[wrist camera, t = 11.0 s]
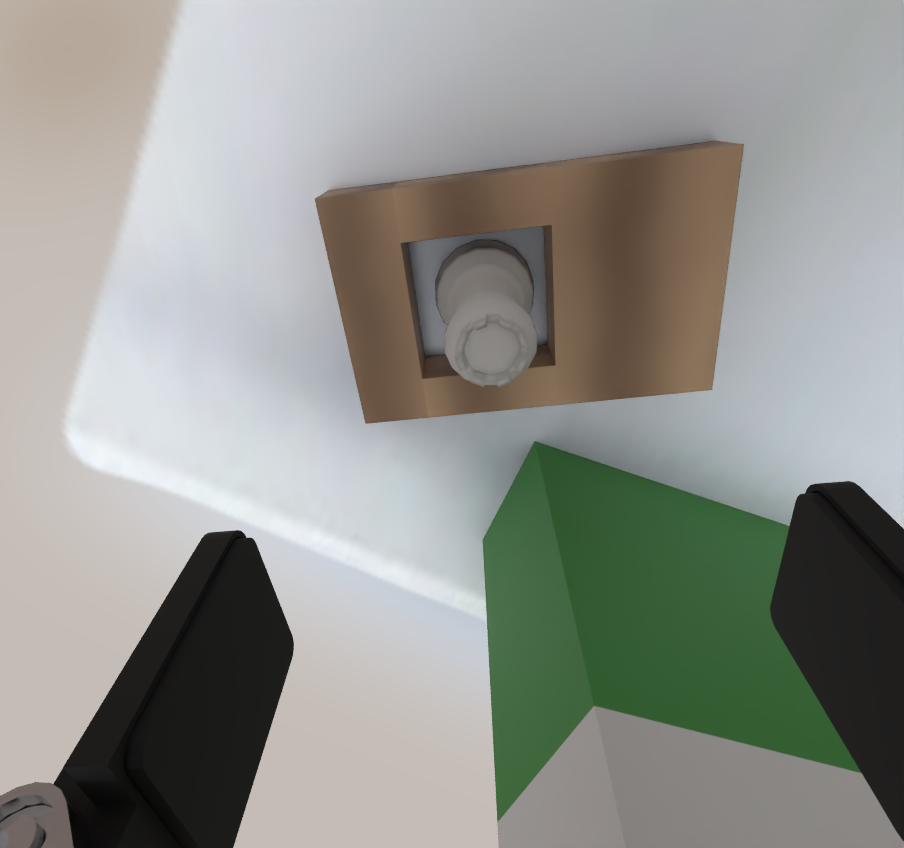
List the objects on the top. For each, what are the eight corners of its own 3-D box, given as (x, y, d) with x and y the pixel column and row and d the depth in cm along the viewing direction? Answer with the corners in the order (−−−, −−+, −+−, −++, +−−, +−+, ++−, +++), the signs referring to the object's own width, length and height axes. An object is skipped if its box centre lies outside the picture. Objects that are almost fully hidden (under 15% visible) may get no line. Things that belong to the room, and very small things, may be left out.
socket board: (715, 140, 22) (743, 144, 20) (691, 367, 27) (711, 389, 25) (328, 190, 23) (314, 198, 21) (372, 399, 28) (365, 423, 26)
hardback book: (808, 532, 32) (1446, 1305, 11) (734, 614, 36) (1117, 1321, 15) (534, 441, 29) (716, 1251, 9) (482, 539, 33) (521, 1286, 12)
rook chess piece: (537, 324, 26) (565, 401, 19) (445, 341, 27) (440, 422, 20) (525, 228, 24) (552, 274, 17) (425, 248, 24) (411, 301, 17)
